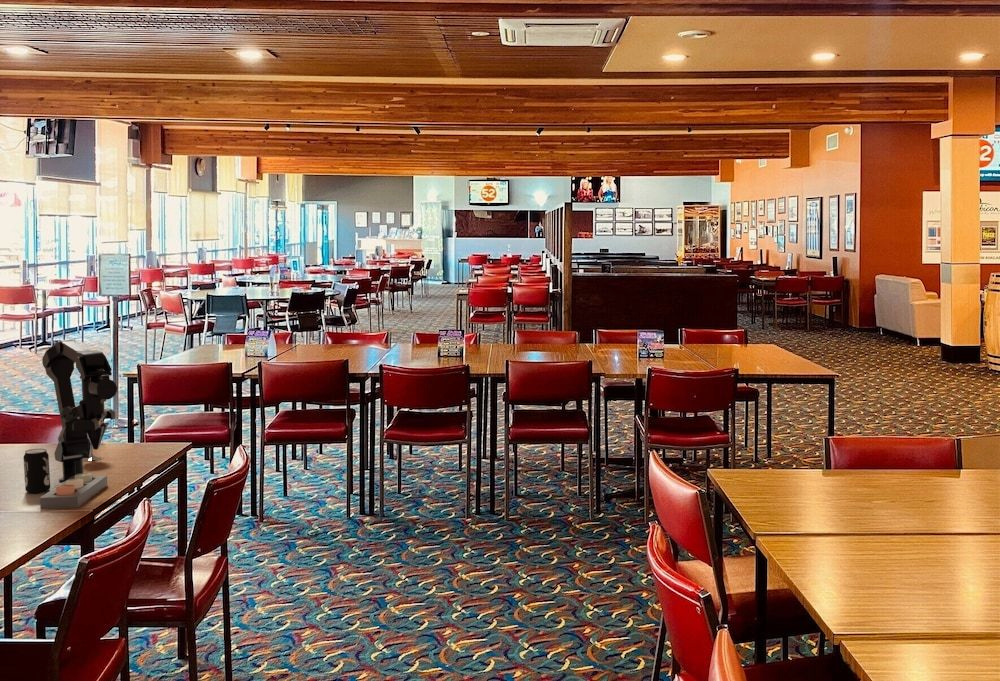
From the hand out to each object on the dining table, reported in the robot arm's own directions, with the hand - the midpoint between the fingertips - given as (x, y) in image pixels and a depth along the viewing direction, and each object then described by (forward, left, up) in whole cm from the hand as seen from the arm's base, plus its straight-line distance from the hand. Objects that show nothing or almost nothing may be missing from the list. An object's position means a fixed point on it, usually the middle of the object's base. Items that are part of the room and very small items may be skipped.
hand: (95, 449), depth 297 cm
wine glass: (-42, -16, -12) cm, 47 cm away
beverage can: (0, -17, -12) cm, 21 cm away
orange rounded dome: (+14, -4, -12) cm, 19 cm away
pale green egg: (0, -4, -12) cm, 12 cm away
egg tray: (+7, -4, -12) cm, 14 cm away
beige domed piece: (+7, -4, -12) cm, 14 cm away
